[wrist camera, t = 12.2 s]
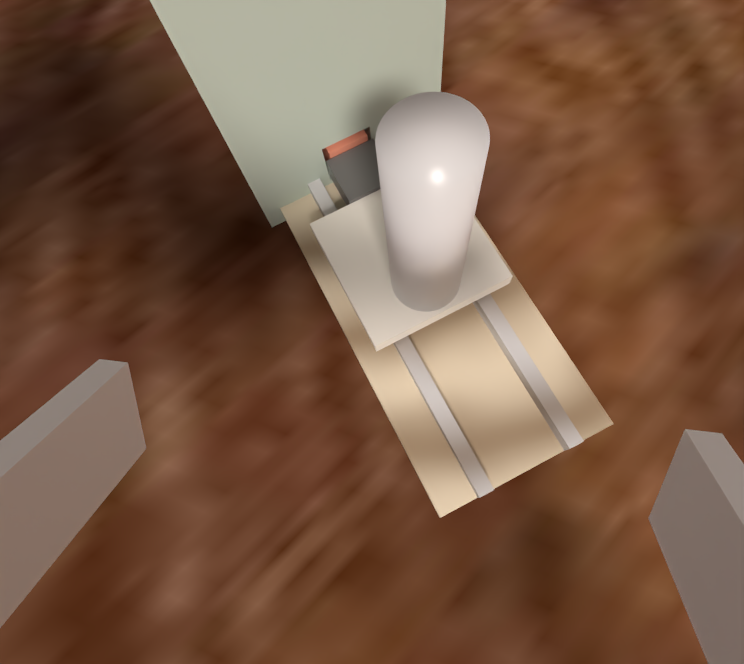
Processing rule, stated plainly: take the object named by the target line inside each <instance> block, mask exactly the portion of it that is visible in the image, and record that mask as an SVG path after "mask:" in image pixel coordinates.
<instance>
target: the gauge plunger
mask: <svg viewBox="0 0 744 664" xmlns="http://www.w3.org/2000/svg"><path fill="white" fill-rule="evenodd" d="M366 141H368V136H367V134H366V132H365V131H364V129H363V130H361V131H359V132H357V133H355V134H353V135H351V136H349V137H347V138H345V139H343V140H340V141H338V142H336V143H334V144H332V145H330V146H328V147H326V148H324V149H322V152H323V155H324V159H325V161H327V160H329V159H331V158H333V157H335V156H337V155H339V154H342V153H344V152H346V151H348V150H350V149H352V148H354V147H356V146H358V145H360V144H362V143H364V142H366ZM326 163H327V162H326Z"/></svg>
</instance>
